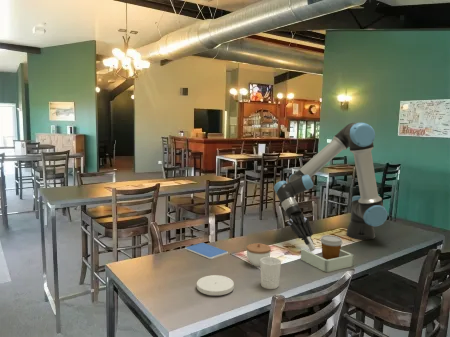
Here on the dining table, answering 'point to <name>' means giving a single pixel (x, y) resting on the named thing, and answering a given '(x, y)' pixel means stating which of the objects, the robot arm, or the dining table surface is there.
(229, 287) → the plastic lid
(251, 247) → the lidded jar
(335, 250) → the disposable coffee cup
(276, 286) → the white cup
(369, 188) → the robot arm
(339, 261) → the tub
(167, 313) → the dining table surface
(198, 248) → the blue notebook
